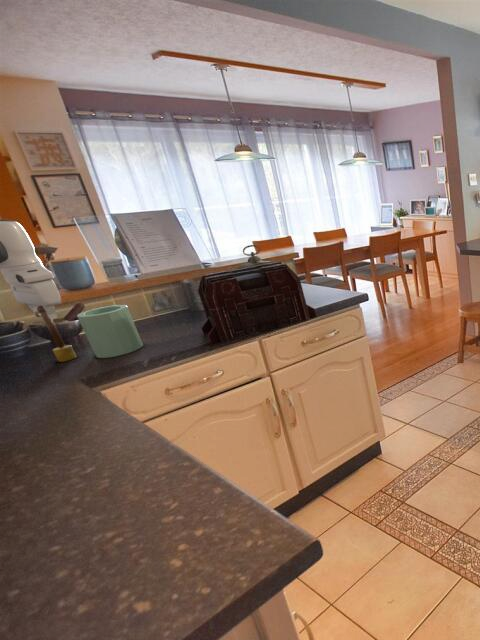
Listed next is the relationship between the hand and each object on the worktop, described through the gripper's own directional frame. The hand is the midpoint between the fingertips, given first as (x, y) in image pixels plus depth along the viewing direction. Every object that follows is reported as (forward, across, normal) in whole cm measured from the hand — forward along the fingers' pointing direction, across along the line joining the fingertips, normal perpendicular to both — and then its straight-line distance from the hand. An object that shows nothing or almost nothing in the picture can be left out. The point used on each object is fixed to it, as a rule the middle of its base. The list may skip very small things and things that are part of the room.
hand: (46, 317), depth 135 cm
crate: (+14, +38, +42) cm, 58 cm away
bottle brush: (+14, 0, 0) cm, 14 cm away
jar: (+14, +10, +10) cm, 20 cm away
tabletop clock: (+14, +12, +64) cm, 67 cm away
